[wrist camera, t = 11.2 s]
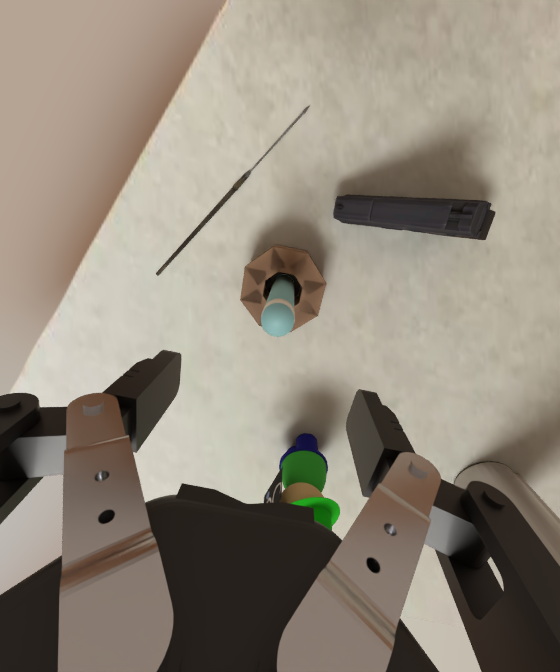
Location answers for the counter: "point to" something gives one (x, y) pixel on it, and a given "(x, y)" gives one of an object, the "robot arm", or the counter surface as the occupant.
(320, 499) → the toy
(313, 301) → the bead
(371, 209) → the handgun
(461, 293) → the counter surface
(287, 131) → the paintbrush
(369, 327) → the counter surface
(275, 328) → the teal capped tube
